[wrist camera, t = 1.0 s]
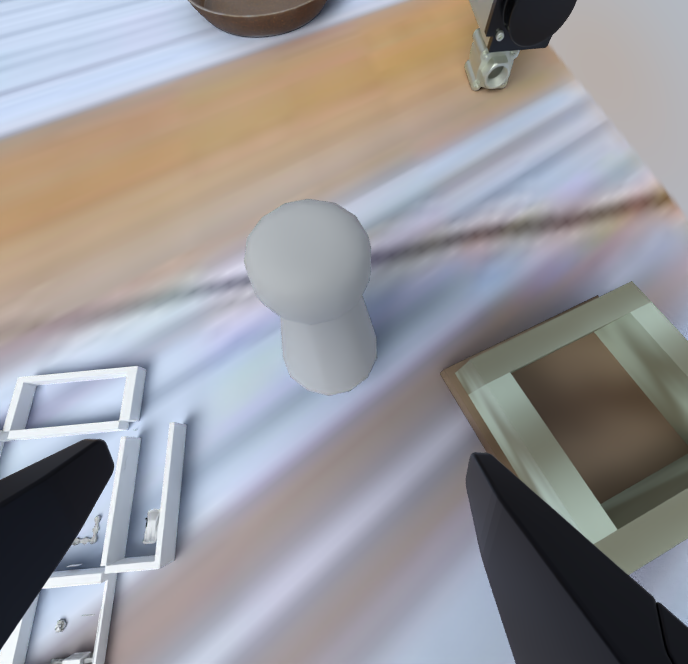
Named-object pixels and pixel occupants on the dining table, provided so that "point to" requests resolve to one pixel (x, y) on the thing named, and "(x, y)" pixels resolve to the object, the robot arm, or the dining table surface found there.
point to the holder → (592, 420)
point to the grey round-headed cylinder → (316, 291)
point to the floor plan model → (158, 521)
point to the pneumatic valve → (510, 35)
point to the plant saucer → (258, 15)
